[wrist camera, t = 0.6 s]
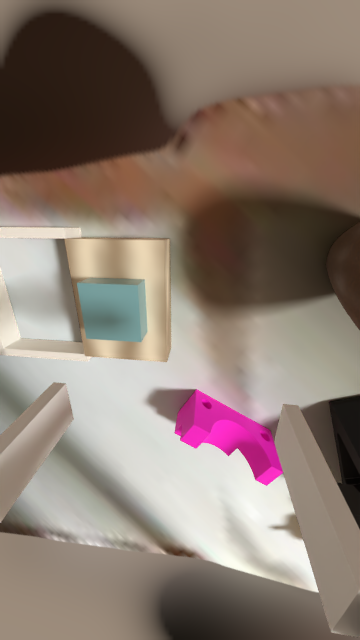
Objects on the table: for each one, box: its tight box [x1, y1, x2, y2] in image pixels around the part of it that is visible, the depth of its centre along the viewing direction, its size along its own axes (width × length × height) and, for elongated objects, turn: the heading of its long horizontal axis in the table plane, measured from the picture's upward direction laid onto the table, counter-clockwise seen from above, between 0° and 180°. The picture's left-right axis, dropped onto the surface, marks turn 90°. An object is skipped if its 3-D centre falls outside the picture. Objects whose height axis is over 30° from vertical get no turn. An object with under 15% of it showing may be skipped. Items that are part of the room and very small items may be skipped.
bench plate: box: [64, 237, 171, 362], centre depth 31 cm, size 12×16×4 cm
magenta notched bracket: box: [175, 389, 283, 486], centre depth 36 cm, size 15×6×8 cm, turn 60°
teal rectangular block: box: [77, 278, 148, 342], centre depth 28 cm, size 7×7×3 cm
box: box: [0, 227, 91, 361], centre depth 32 cm, size 15×18×4 cm
